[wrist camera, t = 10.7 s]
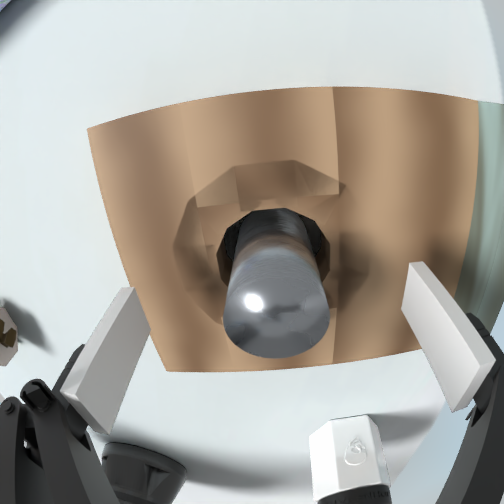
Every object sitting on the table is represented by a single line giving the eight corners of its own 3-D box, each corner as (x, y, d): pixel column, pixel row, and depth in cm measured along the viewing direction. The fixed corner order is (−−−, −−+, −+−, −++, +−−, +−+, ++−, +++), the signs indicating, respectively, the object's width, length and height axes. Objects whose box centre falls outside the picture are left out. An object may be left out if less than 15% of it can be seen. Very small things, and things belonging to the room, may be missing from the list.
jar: (384, 409, 28) (406, 497, 18) (370, 438, 32) (384, 512, 22) (310, 420, 29) (317, 515, 19) (307, 447, 33) (311, 524, 22)
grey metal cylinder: (243, 271, 20) (232, 361, 13) (233, 210, 18) (212, 283, 11) (308, 265, 20) (328, 353, 13) (305, 202, 18) (330, 272, 11)
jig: (174, 345, 24) (157, 401, 19) (111, 123, 16) (54, 136, 10) (446, 317, 22) (475, 364, 16) (476, 103, 14) (536, 113, 8)
